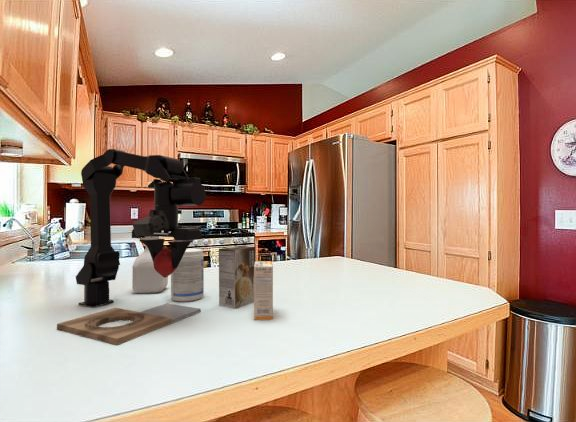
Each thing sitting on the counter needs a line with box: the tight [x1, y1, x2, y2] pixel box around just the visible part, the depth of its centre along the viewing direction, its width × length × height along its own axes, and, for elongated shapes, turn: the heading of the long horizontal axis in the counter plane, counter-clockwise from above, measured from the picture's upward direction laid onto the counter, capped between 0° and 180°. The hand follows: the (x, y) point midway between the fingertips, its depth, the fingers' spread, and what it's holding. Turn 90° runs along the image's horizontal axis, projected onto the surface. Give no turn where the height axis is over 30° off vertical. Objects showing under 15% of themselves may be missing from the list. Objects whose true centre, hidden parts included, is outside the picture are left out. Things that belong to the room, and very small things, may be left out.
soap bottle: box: [131, 244, 169, 294], centre depth 108 cm, size 10×10×23 cm
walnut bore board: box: [56, 307, 173, 346], centre depth 73 cm, size 20×14×1 cm
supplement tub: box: [170, 248, 205, 303], centre depth 98 cm, size 10×10×15 cm
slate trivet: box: [140, 302, 202, 324], centre depth 81 cm, size 12×12×1 cm
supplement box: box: [253, 260, 274, 321], centre depth 82 cm, size 8×5×13 cm, turn 5°
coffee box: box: [218, 245, 256, 309], centre depth 93 cm, size 9×6×16 cm
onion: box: [153, 245, 176, 278], centre depth 82 cm, size 6×6×8 cm
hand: (165, 267), depth 82 cm, fingers closed on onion, 6 cm apart
